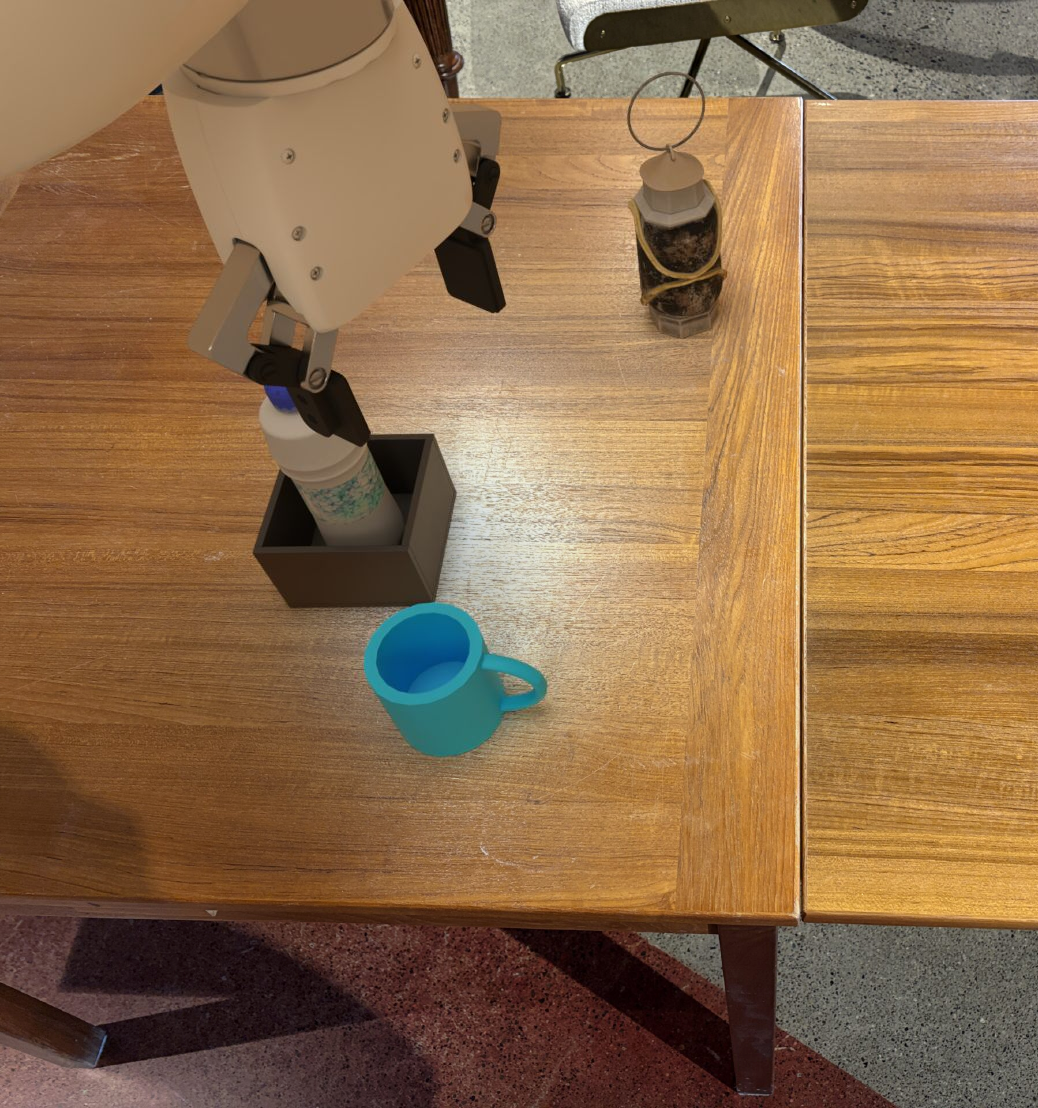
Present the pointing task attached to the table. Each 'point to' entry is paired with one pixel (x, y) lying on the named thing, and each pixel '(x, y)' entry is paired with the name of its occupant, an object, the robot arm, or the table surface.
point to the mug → (443, 679)
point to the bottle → (331, 477)
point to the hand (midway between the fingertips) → (413, 363)
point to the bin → (364, 571)
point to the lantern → (677, 237)
